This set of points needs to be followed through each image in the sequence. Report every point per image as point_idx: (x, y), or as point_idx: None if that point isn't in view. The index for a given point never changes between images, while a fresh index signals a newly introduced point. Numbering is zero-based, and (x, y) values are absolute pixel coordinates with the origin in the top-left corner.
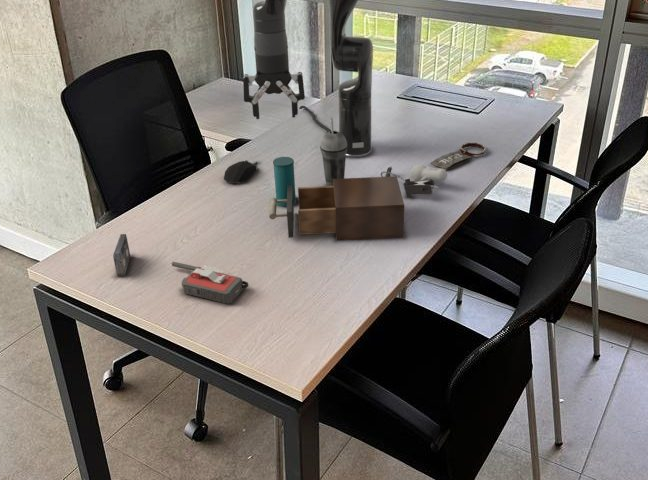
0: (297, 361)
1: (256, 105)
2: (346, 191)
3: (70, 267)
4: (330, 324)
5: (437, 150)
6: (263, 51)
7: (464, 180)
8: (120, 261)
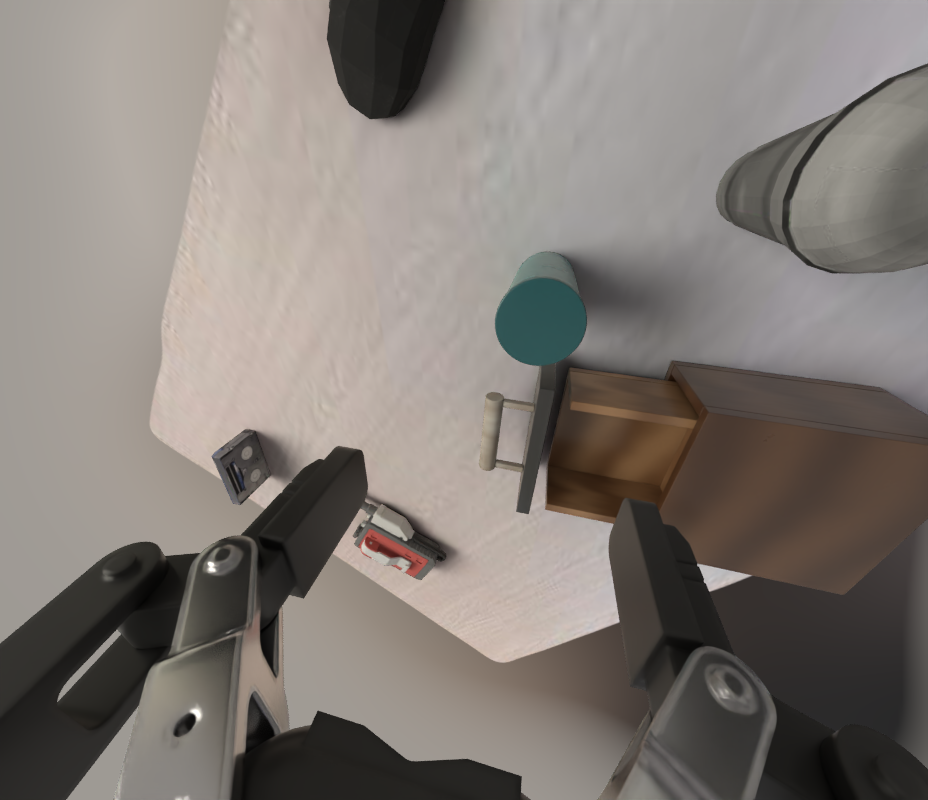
0: (500, 646)
1: (294, 589)
2: (712, 495)
3: (186, 435)
4: (548, 624)
5: None
6: None
7: None
8: (250, 493)
